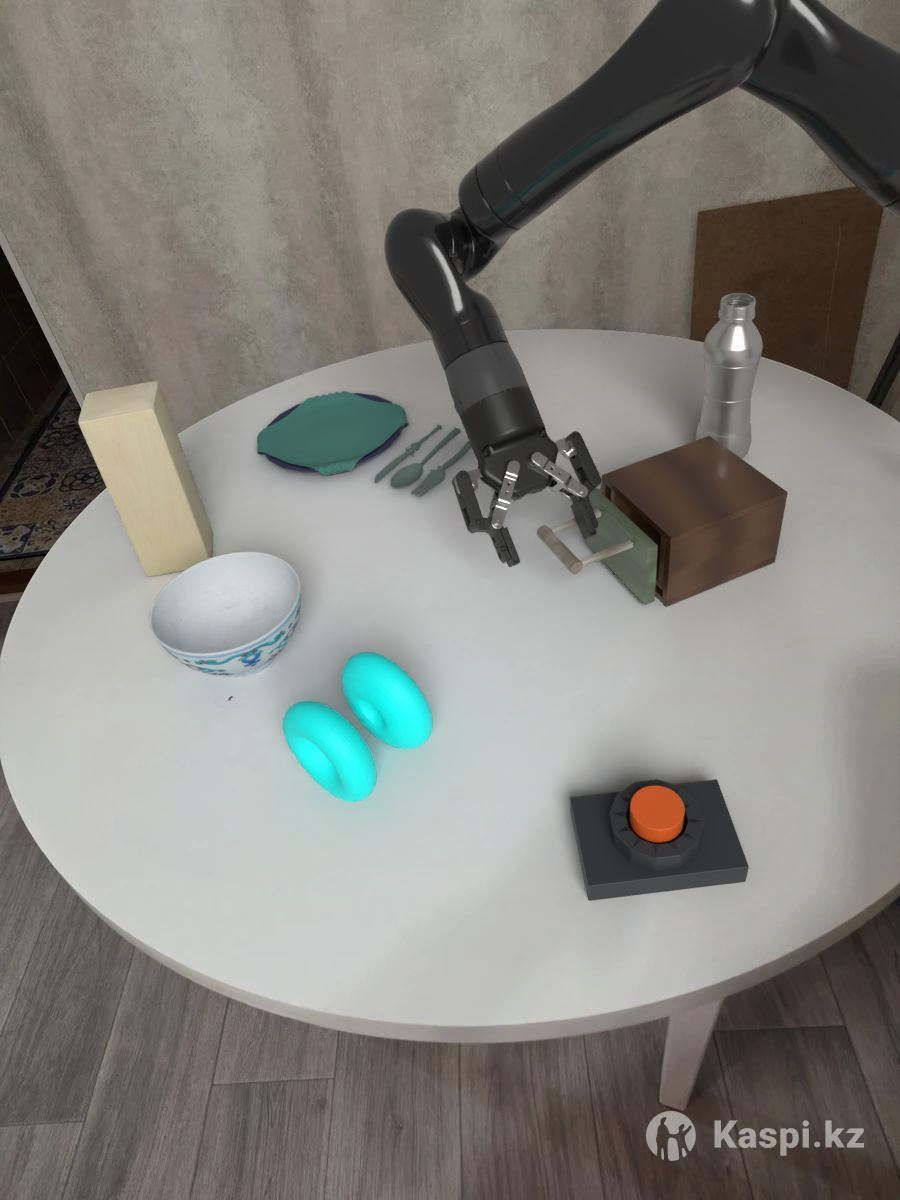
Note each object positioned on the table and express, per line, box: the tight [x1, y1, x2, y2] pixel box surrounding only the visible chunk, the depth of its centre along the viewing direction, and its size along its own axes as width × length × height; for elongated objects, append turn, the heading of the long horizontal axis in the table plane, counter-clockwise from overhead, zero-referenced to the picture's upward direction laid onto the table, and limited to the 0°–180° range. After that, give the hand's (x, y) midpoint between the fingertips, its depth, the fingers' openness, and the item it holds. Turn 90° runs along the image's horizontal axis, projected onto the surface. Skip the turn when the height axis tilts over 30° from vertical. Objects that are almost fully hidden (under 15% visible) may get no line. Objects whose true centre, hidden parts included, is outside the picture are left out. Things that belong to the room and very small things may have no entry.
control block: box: [569, 778, 750, 902], centre depth 67 cm, size 12×8×4 cm, turn 94°
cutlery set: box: [256, 390, 472, 498], centre depth 117 cm, size 20×30×2 cm, turn 55°
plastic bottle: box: [694, 292, 764, 460], centre depth 100 cm, size 6×7×20 cm
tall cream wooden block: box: [77, 380, 214, 578], centre depth 98 cm, size 8×7×21 cm
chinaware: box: [149, 551, 302, 678], centre depth 88 cm, size 15×15×8 cm
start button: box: [630, 785, 685, 843], centre depth 66 cm, size 4×4×2 cm
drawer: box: [536, 487, 666, 606], centre depth 90 cm, size 20×11×7 cm, turn 114°
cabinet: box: [601, 436, 789, 608], centre depth 91 cm, size 14×13×9 cm
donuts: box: [282, 651, 434, 803], centre depth 75 cm, size 10×10×10 cm
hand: (553, 550), depth 86 cm, fingers open, 8 cm apart
